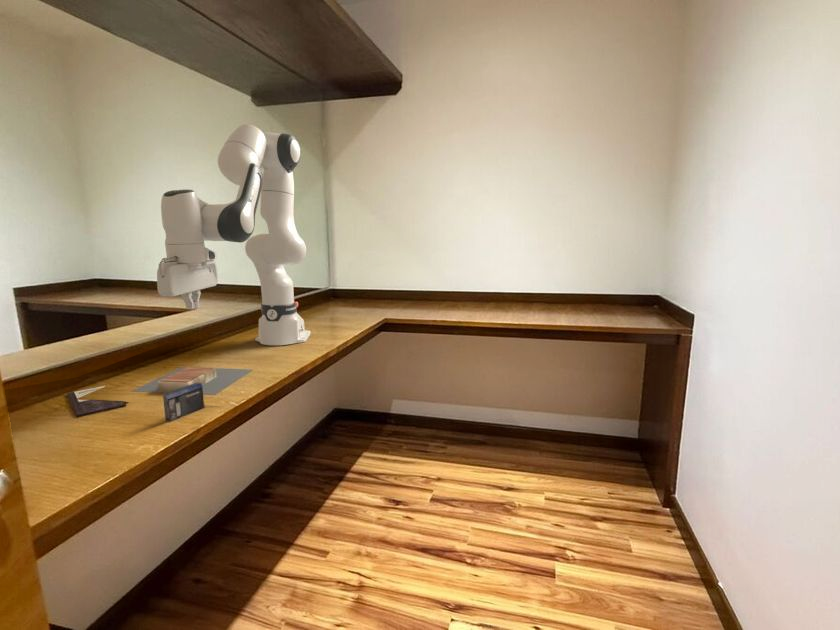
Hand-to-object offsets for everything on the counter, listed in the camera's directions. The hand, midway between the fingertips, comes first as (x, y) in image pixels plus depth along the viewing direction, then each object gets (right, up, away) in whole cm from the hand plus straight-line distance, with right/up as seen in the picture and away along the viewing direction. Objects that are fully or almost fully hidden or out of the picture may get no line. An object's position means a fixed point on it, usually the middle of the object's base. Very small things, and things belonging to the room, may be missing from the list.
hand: (192, 308), depth 113 cm
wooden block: (0, -17, +5) cm, 18 cm away
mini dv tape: (+8, -24, -18) cm, 31 cm away
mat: (0, -20, +3) cm, 20 cm away
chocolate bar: (-18, -23, -10) cm, 31 cm away
